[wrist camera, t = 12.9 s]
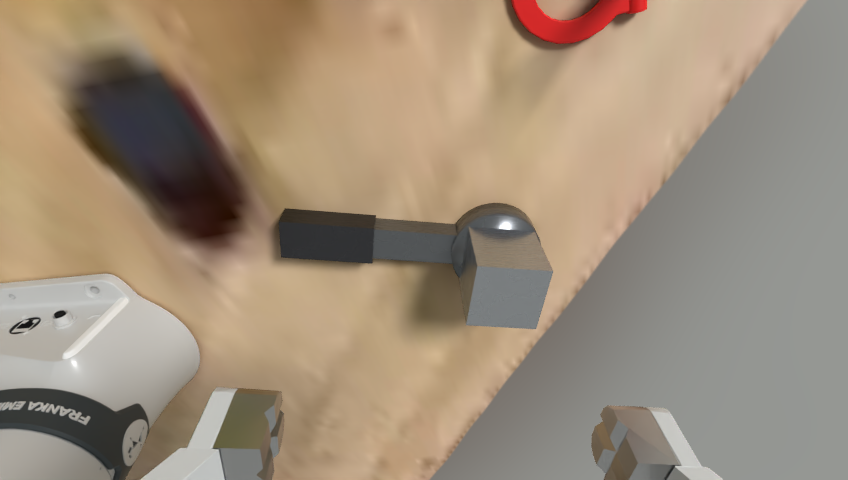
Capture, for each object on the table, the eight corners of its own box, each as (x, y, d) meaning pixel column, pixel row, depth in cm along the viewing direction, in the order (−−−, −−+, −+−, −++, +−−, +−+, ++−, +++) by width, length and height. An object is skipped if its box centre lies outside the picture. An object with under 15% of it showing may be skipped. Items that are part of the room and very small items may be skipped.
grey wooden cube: (459, 281, 42) (466, 325, 37) (468, 226, 40) (477, 266, 34) (520, 285, 43) (536, 329, 38) (534, 231, 40) (553, 271, 35)
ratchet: (288, 262, 44) (272, 302, 39) (284, 186, 40) (265, 219, 35) (524, 278, 46) (539, 318, 40) (543, 206, 42) (562, 241, 36)
